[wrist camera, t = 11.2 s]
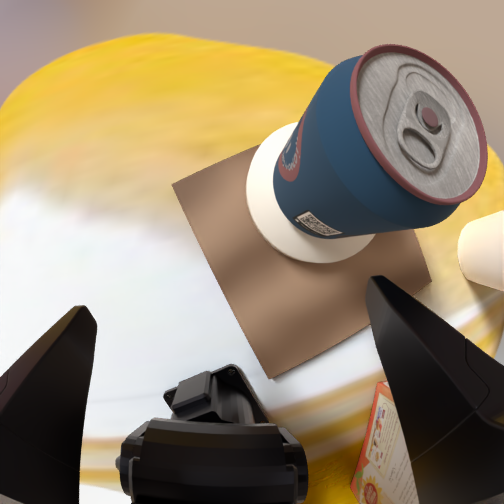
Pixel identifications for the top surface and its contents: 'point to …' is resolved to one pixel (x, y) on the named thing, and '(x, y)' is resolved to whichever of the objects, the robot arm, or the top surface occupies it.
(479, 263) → the foam cup
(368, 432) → the cracker box
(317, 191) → the soda can
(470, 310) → the top surface
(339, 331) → the plinth board
